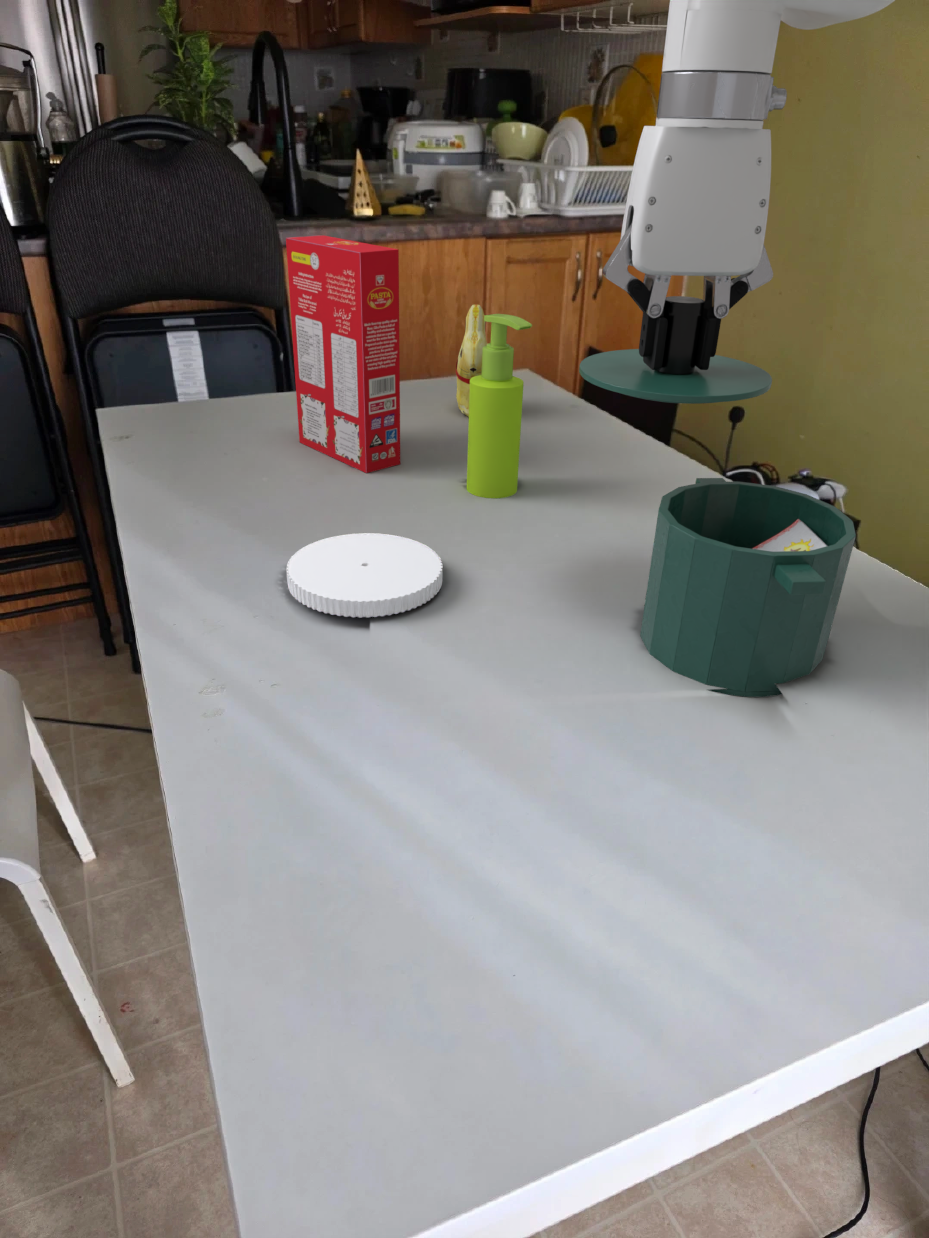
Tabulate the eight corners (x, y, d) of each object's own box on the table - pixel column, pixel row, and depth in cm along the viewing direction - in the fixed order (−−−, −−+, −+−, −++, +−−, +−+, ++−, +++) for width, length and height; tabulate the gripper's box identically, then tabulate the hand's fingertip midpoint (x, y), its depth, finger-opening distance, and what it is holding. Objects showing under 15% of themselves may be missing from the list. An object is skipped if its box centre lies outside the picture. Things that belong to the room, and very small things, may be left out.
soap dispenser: (497, 509, 98) (506, 324, 89) (456, 491, 103) (460, 313, 93) (533, 497, 102) (546, 318, 92) (492, 480, 106) (500, 307, 96)
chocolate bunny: (453, 420, 127) (455, 312, 120) (456, 399, 137) (459, 297, 129) (500, 422, 127) (506, 313, 120) (500, 400, 137) (505, 299, 129)
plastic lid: (418, 637, 74) (418, 611, 72) (262, 614, 76) (260, 588, 75) (458, 566, 86) (458, 543, 84) (322, 549, 88) (320, 525, 87)
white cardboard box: (738, 621, 77) (816, 530, 73) (767, 663, 71) (854, 566, 67) (706, 603, 75) (784, 509, 72) (733, 644, 70) (819, 544, 66)
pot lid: (729, 361, 80) (742, 284, 77) (801, 410, 67) (821, 319, 63) (562, 361, 79) (568, 282, 75) (602, 411, 65) (611, 318, 62)
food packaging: (400, 464, 110) (398, 249, 98) (366, 473, 107) (360, 252, 95) (332, 434, 120) (323, 235, 107) (299, 442, 117) (285, 237, 104)
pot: (763, 590, 83) (790, 469, 77) (868, 714, 66) (913, 570, 60) (614, 594, 82) (629, 470, 76) (681, 721, 64) (708, 574, 58)
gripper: (799, 109, 67) (754, 355, 76) (586, 102, 65) (566, 355, 74) (846, 108, 60) (790, 378, 69) (610, 101, 59) (585, 377, 68)
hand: (675, 363), depth 72 cm, fingers closed on pot lid, 3 cm apart
